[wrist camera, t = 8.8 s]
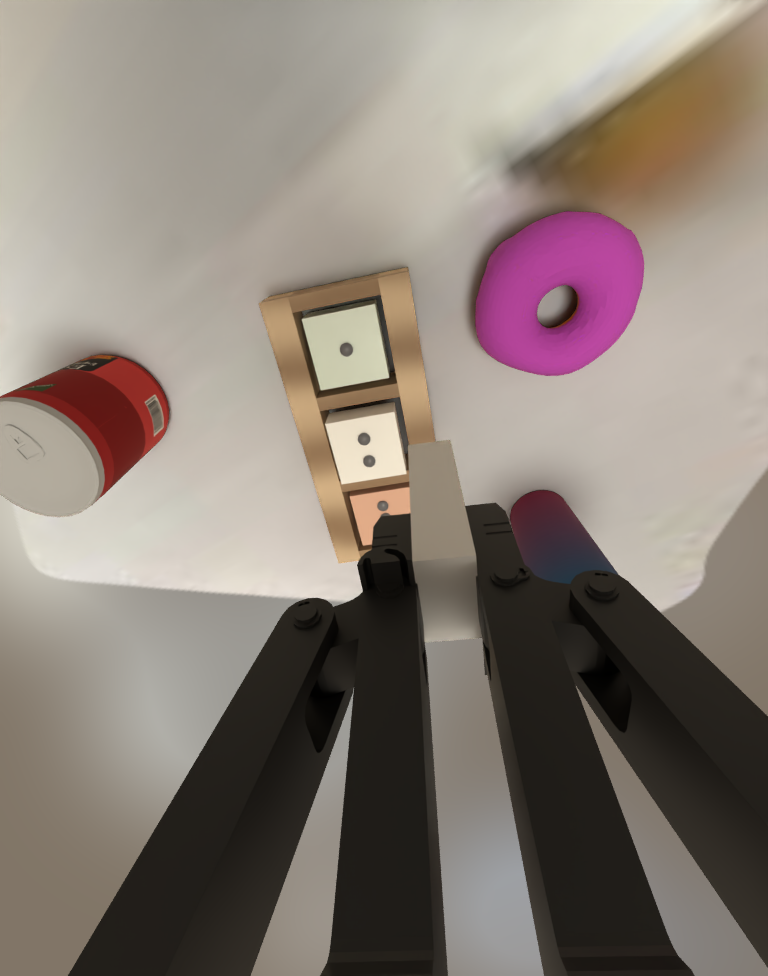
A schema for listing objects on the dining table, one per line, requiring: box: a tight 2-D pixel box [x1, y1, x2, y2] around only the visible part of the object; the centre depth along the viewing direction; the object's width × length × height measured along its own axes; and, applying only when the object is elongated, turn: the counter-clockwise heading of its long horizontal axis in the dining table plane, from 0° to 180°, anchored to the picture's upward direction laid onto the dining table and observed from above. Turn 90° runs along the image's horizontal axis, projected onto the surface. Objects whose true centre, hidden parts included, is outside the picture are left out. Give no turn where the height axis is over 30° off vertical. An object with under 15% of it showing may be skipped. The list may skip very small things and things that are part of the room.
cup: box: [510, 490, 618, 584], centre depth 36 cm, size 7×7×15 cm
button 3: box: [350, 482, 410, 546], centre depth 40 cm, size 5×5×2 cm
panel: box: [259, 267, 435, 563], centre depth 37 cm, size 22×10×3 cm, turn 11°
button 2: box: [325, 402, 407, 484], centre depth 36 cm, size 5×5×2 cm
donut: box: [475, 211, 644, 376], centre depth 32 cm, size 10×10×4 cm
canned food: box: [0, 355, 169, 517], centre depth 34 cm, size 8×8×11 cm
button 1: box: [302, 299, 390, 390], centre depth 34 cm, size 5×5×2 cm
